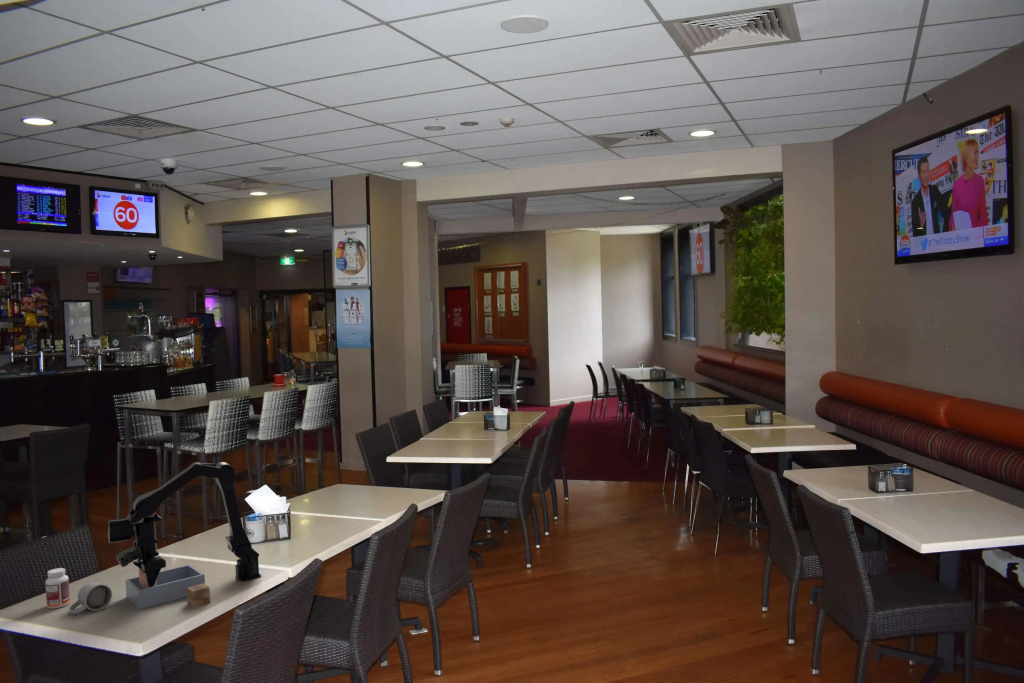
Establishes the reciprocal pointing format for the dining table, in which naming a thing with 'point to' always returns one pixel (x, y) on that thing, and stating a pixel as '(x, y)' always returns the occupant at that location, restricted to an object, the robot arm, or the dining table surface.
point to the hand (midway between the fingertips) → (148, 585)
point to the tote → (164, 586)
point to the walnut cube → (198, 595)
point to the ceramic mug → (92, 597)
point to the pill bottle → (57, 589)
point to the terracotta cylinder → (144, 580)
